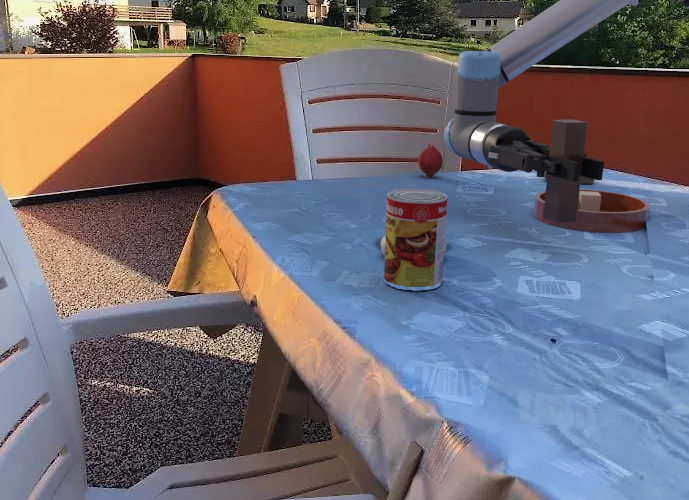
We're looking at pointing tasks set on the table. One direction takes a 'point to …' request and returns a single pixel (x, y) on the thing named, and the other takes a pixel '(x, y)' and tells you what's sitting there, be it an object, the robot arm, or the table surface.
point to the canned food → (415, 237)
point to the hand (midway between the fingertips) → (588, 171)
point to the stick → (558, 190)
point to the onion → (430, 160)
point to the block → (589, 201)
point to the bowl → (603, 214)
